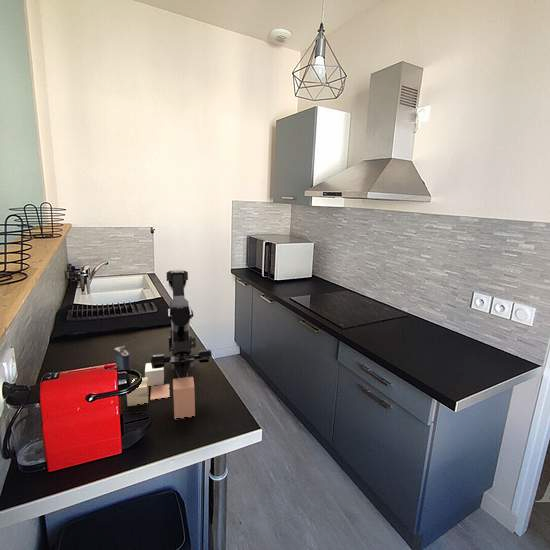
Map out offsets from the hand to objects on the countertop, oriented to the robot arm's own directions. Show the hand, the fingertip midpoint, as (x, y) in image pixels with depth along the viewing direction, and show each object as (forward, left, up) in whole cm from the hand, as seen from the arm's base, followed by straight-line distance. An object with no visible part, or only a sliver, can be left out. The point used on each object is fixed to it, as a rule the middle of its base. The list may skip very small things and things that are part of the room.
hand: (183, 385), depth 104 cm
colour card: (-6, -11, -7) cm, 14 cm away
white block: (-12, -16, -7) cm, 21 cm away
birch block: (-1, -16, -7) cm, 18 cm away
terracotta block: (+3, +1, -7) cm, 8 cm away
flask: (-15, -30, -8) cm, 34 cm away
